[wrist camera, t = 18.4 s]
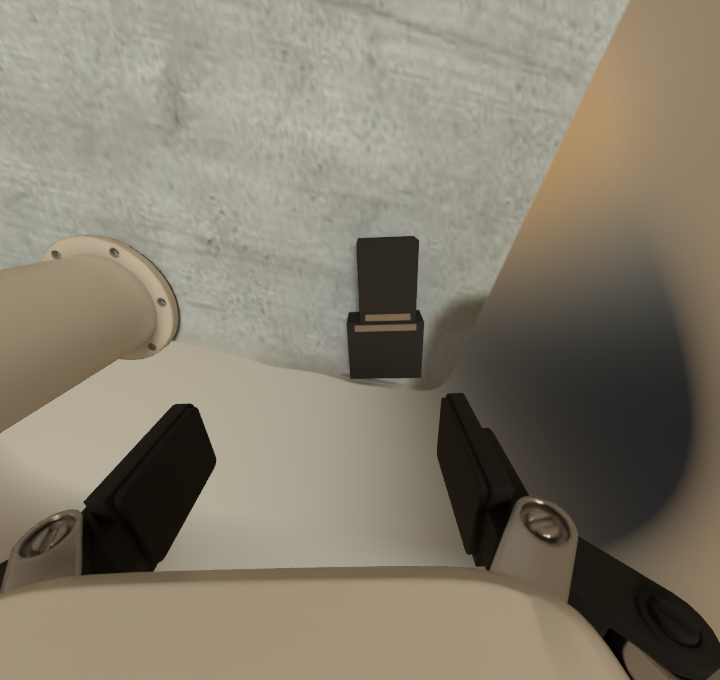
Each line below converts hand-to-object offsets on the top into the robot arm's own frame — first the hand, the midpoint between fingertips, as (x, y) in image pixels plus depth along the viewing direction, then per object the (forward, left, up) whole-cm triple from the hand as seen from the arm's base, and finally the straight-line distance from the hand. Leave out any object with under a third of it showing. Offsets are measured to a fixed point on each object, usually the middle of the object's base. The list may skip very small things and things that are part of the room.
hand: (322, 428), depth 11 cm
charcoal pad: (+3, -5, -19) cm, 20 cm away
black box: (+3, +1, -19) cm, 19 cm away
